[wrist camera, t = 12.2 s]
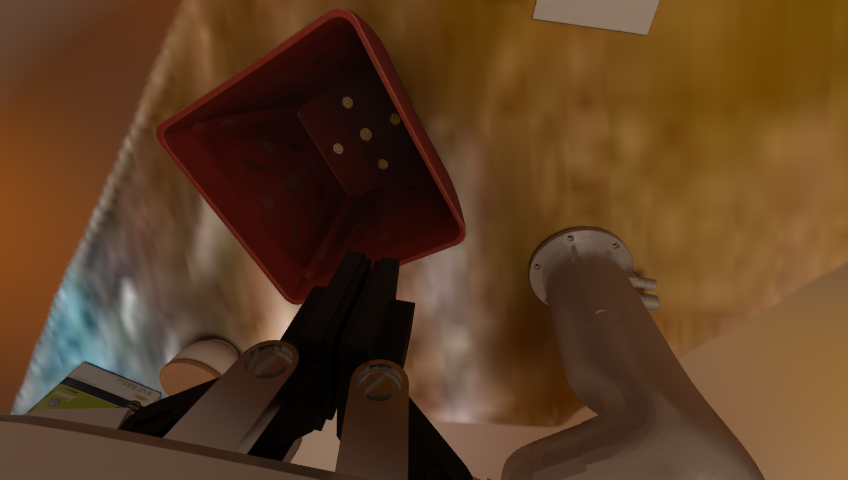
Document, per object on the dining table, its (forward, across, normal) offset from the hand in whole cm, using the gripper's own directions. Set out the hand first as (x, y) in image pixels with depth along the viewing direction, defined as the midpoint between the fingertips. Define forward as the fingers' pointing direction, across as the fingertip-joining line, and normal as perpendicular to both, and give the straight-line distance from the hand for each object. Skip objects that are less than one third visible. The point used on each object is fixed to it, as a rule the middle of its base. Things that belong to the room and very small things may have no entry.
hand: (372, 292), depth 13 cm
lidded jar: (+35, +32, +46) cm, 66 cm away
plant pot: (+35, +9, +5) cm, 37 cm away
